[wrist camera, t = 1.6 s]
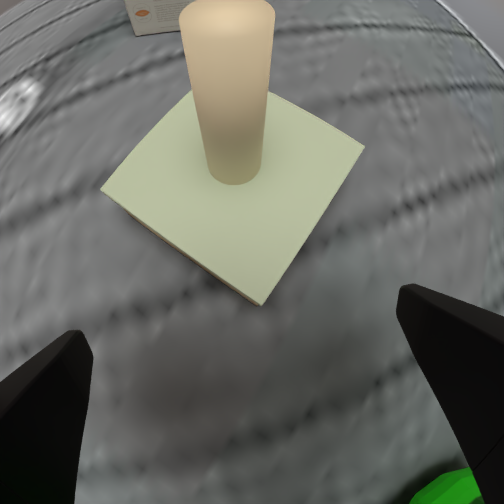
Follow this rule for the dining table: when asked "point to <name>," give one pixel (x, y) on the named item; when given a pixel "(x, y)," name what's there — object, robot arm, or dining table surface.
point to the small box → (155, 15)
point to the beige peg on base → (234, 156)
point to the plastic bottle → (450, 489)
